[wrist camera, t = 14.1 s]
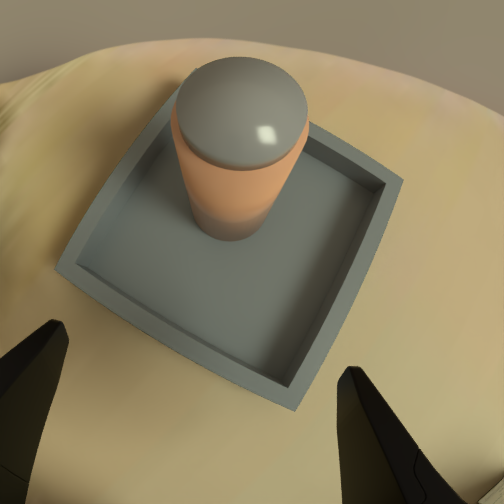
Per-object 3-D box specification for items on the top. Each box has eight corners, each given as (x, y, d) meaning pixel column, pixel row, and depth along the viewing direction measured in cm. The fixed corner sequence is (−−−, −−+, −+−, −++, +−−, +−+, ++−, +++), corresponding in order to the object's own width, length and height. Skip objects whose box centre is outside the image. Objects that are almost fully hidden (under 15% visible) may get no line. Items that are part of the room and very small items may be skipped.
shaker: (278, 229, 19) (337, 150, 9) (202, 250, 18) (184, 185, 8) (255, 161, 19) (286, 45, 10) (183, 179, 19) (157, 67, 9)
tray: (285, 399, 18) (295, 411, 15) (72, 274, 18) (54, 269, 15) (385, 192, 21) (403, 179, 18) (197, 90, 21) (195, 68, 18)
